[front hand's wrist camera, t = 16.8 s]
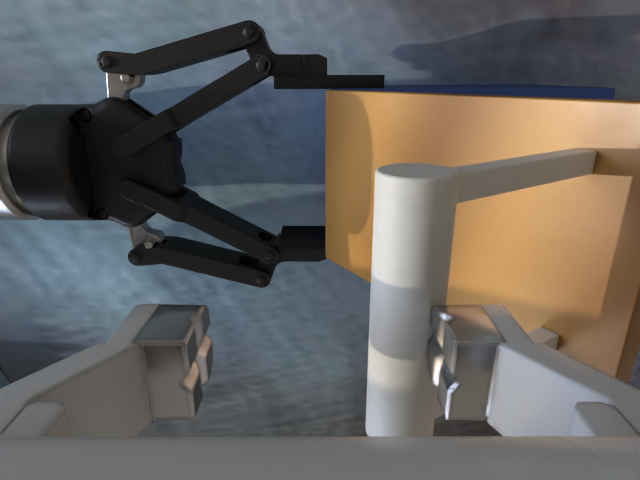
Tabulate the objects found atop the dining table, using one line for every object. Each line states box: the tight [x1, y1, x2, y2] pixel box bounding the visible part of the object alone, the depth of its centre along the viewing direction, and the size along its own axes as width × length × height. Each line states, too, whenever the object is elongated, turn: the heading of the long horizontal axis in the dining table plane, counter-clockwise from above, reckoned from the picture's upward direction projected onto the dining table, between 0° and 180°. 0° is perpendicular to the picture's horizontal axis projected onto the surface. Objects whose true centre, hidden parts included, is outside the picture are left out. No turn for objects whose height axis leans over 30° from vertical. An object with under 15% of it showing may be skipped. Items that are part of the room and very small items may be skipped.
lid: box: [325, 90, 640, 436], centre depth 17 cm, size 16×10×9 cm
